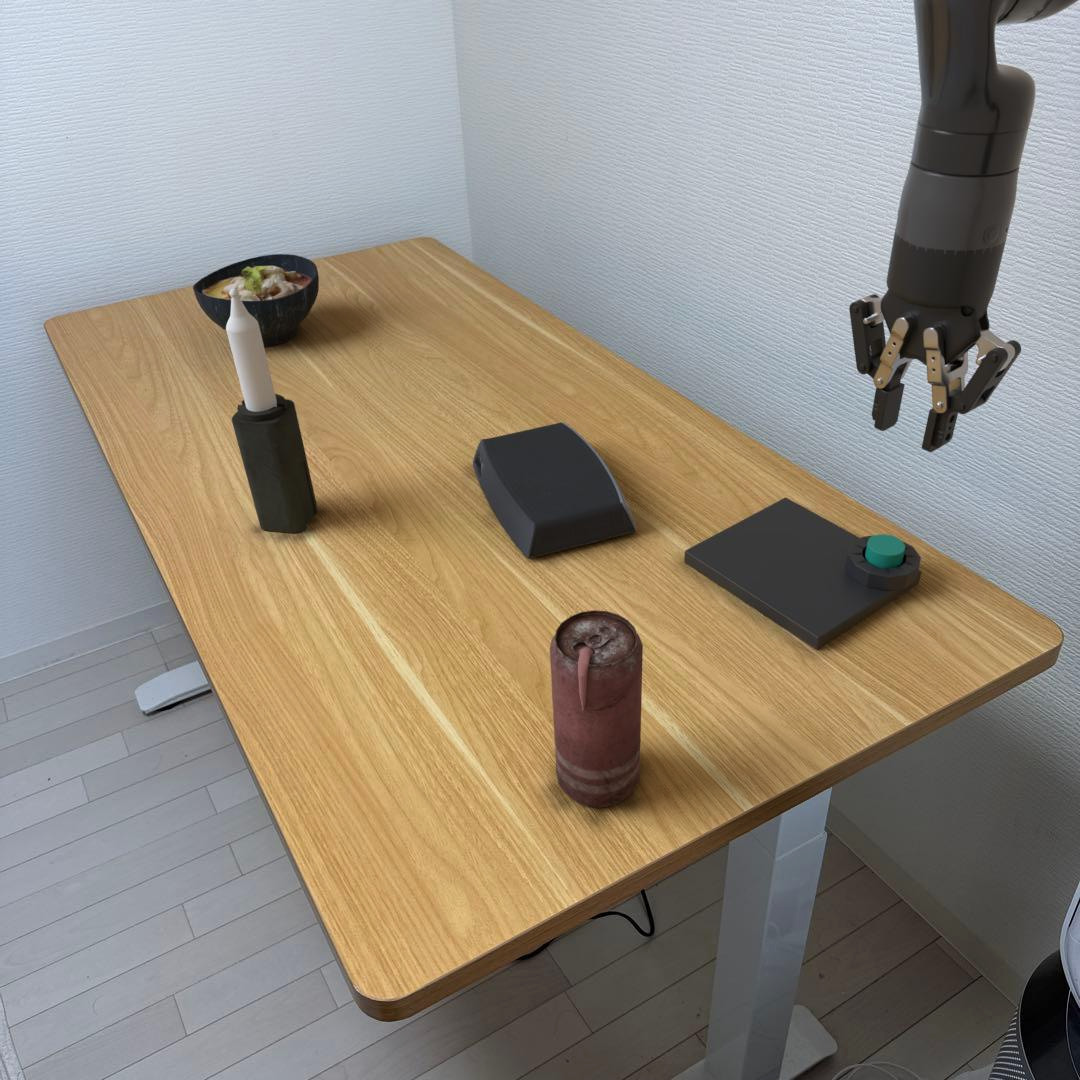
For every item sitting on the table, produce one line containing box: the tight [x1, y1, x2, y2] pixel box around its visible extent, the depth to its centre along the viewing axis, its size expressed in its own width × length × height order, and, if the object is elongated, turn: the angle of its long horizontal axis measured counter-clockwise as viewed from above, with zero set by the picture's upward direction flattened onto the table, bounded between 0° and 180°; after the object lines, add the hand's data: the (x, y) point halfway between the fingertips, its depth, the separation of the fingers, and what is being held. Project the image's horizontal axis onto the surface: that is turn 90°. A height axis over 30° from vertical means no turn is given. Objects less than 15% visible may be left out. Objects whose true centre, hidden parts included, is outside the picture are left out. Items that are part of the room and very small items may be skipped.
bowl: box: [192, 253, 320, 348], centre depth 137 cm, size 17×17×10 cm
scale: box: [683, 497, 923, 651], centre depth 88 cm, size 16×14×3 cm
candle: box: [225, 289, 319, 534], centre depth 93 cm, size 5×5×25 cm
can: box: [549, 609, 644, 809], centre depth 67 cm, size 6×6×14 cm
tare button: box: [865, 533, 905, 569], centre depth 86 cm, size 3×3×2 cm
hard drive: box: [472, 421, 639, 559], centre depth 100 cm, size 13×19×4 cm
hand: (908, 436), depth 79 cm, fingers open, 4 cm apart
